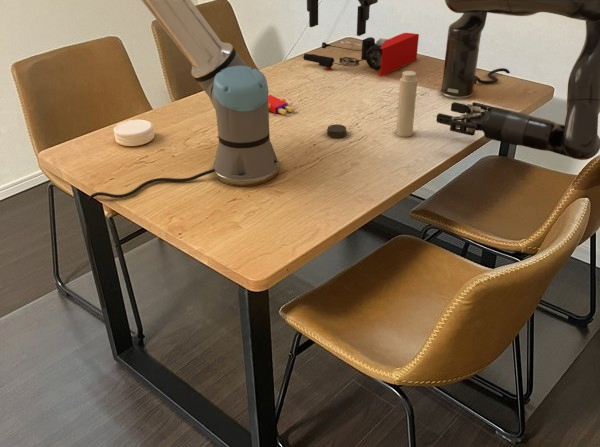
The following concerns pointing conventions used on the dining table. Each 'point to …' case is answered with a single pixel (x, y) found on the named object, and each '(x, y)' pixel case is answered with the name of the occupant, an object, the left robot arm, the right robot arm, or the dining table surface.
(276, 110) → the toy figure
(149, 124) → the white short cylinder
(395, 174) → the dining table surface
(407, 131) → the beige long cylinder
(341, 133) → the lid
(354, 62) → the electric hoist
